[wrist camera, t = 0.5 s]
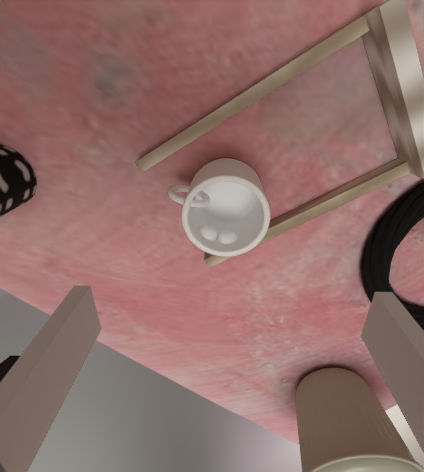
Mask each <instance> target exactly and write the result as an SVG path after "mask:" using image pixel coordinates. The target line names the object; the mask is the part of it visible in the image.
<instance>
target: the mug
mask: <svg viewBox="0 0 424 472" xmlns="http://www.w3.org/2000/svg"><path fill="white" fill-rule="evenodd" d="M175 192H188V193H187V195H186V198H184V197H181V196H179V195H177V194H176V193H175ZM168 196H169V197H170V198H171V199H172V200H173V201H175V202H177V203H179V204H182V205H183V208H182V224H183V227H184V230H185V232H186V234H187V236H188V237H189V239H190V240H191V241H192V242H193V243H194V244H195V245H196V246H197V247H198V248H200V249H201V250H203V251H205V252H207V253H209V254H212V255H217V256H235V255H239V254H242V253H245V252H247V251H249V250H251V249H252V248H254V247H255V246H256V245H257V244H258V243H259V242H260V241H261V240H262V239H263V237H264V236H265V234H266V232H267V230H268V227H269V223H270V208H269V204H268V200H267V198H266V195H265V192H264V189H263V187H262V184H261V182H260V179H259V177H258V176H257V174H256V173H255V171H254V170H253V169H252V168H251V167H250V166H248V165H247V164H245V163H243V162H241V161H239V160H236V159H230V158H222V159H217V160H214V161H211V162H209V163H207V164H206V165H204V166H203V167H202V168H201V169H200V170H199V171H198V172H197V173H196V175H195V176H194V178H193V180H192V182H191V185H190V186H186V185H175V186H172V187H170V188H169V189H168Z"/></svg>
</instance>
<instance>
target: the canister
mask: <svg viewBox="0 0 424 472" xmlns="http://www.w3.org/2000/svg"><path fill="white" fill-rule="evenodd" d="M296 412H297V425H298V435H299V444H300V452H301V463H302V472H424V468H423V467H422V466H421V465H420V464H419V463H417V462H416V461H415V460H414V458H413V456H412V455H411V453H410V451H409V449H408V448H407V446H406V445H405V443H404V441H403V440H402V438H401V436H400V435H399V433H398V432H397V430H396V428H395V427H394V425H393V423H392V422H391V420H390V419H389V417H388V415H387V414H386V412H385V410H384V409H383V407H382V406H381V404H380V403H379V401H378V399H377V398H376V396H375V395H374V393H373V392H372V390H371V389H370V387H369V386H368V385H367V383H366V382H365V381H364V380H363V379H362V378H361V377H360V376H358V375H357V374H355V373H354V372H352V371H349V370H347V369H343V368H333V367H332V368H325V369H321V370H317V371H314V372H312V373H311V374H308V375H307V376H305V378H304V379H302V381H301V382H300V383H299V386H298V388H297V392H296Z"/></svg>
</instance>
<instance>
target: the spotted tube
mask: <svg viewBox="0 0 424 472" xmlns="http://www.w3.org/2000/svg"><path fill="white" fill-rule="evenodd" d="M36 185H37V184H36V177H35V174H34V171H33V169H32V167H31V166H30V164H29V163H28V161H27V160H26V159H25V158H24V157H23V156H22V155H20V154H19V153H18V152H17V151H15V150H13V149H11V148H9V147H7V146H3V145H0V217H1V216H2V215H4V214H6V213H8V212H9V211H11V210H13V209H15V208H16V207H18V206H20V205H22V204H23V203H25V202H27V201H28V200H30V199H31V198H32V197H33V195H34V193H35V191H36Z"/></svg>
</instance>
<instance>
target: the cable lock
mask: <svg viewBox="0 0 424 472" xmlns="http://www.w3.org/2000/svg"><path fill="white" fill-rule="evenodd" d="M422 218H424V183H422V184H420V185H419V186H417V187H416V188H414V189H413V190H412V191H410V192H409V193H407V194H406V195H405V196H404V197H402V198H401V199H400V200H399V201H398V202H396V204H395V205H394V206H393V208H392V209H391V210H390V211H389V212H388V213H387V214H386V215H385V216H384V217H383V218H382V219H381V220H380V221H379V222H378V224H377V226H376V228H375V230H374V232H373V234H372V236H371V238H370V240H369V242H368V244H367V246H366V248H365V250H364V255H363V260H362V266H361V272H362V278H363V283H364V289H365V292H366V293H367V295H368V298H369V300H370V301H371V303H372V299H373V296H374V293H375V292H393V294H394V295H395V296H396V297H397V299H398V300H399V301H400V302H401V303H402V305H403V306H404V307H405V308H406V310H407V311H408V312H409V313H410V315H411V316H412V317H413V318H414V320H415V321H416V322H417V323H418V325H419V326H420V327H421V328H422V329H423V331H424V308H421V307H416V306H411V305H409V304H407V303H404V302H403V301H402V300H401V299H400V298H399V297H398V296H397V295H396V294H395V292H394V291H393V289H392V287H391V285H390V284H389V272H390V265H391V261H392V258H393V255H394V252H395V249H396V248H397V246H398V245H399V244H400V242H401V241H402V240H403V239H404V237H405V236H406V235H407V233H408V232H409V231H410V229H411V228H412V227H413V226H414V225H415V224H416V223H417V222H418V221H420V220H421V219H422Z"/></svg>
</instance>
